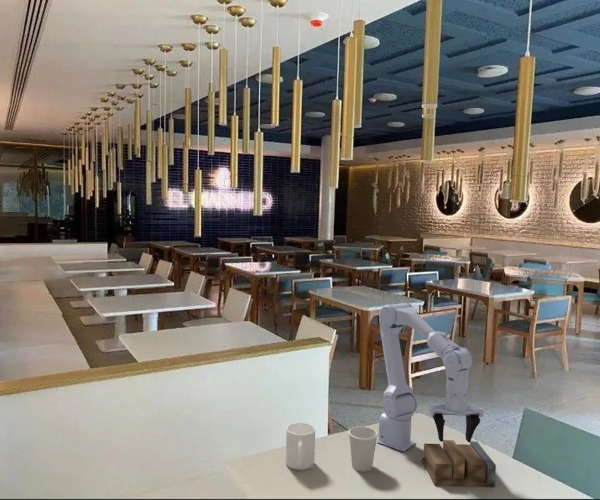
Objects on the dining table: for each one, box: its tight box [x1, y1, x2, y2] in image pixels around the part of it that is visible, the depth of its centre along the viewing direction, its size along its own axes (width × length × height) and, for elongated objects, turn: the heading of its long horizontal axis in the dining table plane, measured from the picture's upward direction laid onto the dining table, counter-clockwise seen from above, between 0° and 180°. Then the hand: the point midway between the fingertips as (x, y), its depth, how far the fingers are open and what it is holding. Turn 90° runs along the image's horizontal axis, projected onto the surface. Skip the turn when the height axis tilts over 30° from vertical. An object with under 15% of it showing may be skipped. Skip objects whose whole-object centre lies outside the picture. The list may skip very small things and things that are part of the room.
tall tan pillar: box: [442, 439, 465, 478], centre depth 140 cm, size 3×10×6 cm, turn 0°
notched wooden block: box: [421, 440, 497, 488], centre depth 140 cm, size 16×14×6 cm
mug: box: [285, 422, 316, 471], centre depth 141 cm, size 12×8×10 cm
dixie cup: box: [347, 425, 379, 473], centre depth 142 cm, size 8×8×10 cm
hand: (454, 440), depth 139 cm, fingers open, 7 cm apart
